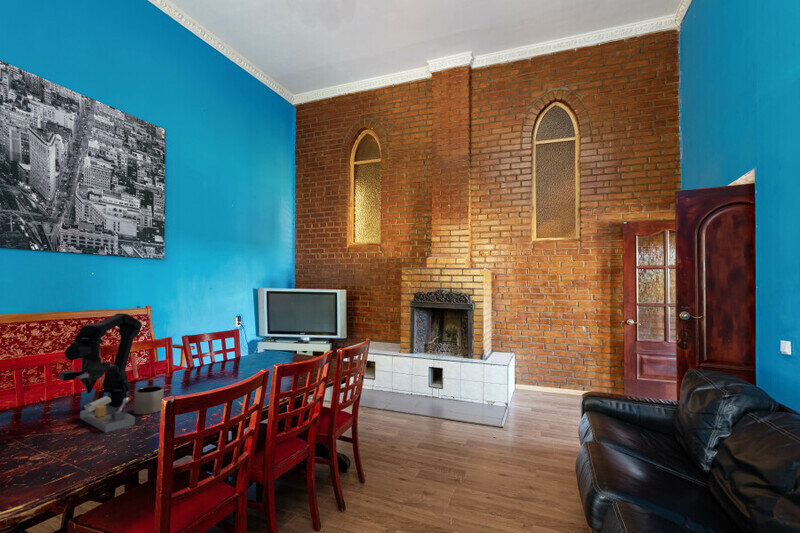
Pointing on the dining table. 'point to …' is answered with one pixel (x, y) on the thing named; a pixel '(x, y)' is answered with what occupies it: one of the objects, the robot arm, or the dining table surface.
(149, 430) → the dining table surface
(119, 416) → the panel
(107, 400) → the rocker
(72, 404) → the dining table surface
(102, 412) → the slider
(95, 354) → the robot arm
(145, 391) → the planter
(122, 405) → the toggle
